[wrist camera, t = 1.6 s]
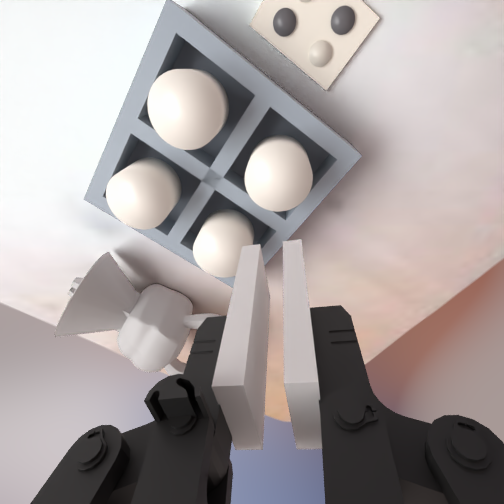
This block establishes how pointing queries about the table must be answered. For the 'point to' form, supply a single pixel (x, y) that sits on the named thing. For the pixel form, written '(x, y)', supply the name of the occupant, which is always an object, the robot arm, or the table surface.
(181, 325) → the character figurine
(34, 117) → the table surface
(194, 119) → the button
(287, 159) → the button
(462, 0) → the table surface
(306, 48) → the card
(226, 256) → the button
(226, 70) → the button board
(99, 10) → the table surface
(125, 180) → the button
